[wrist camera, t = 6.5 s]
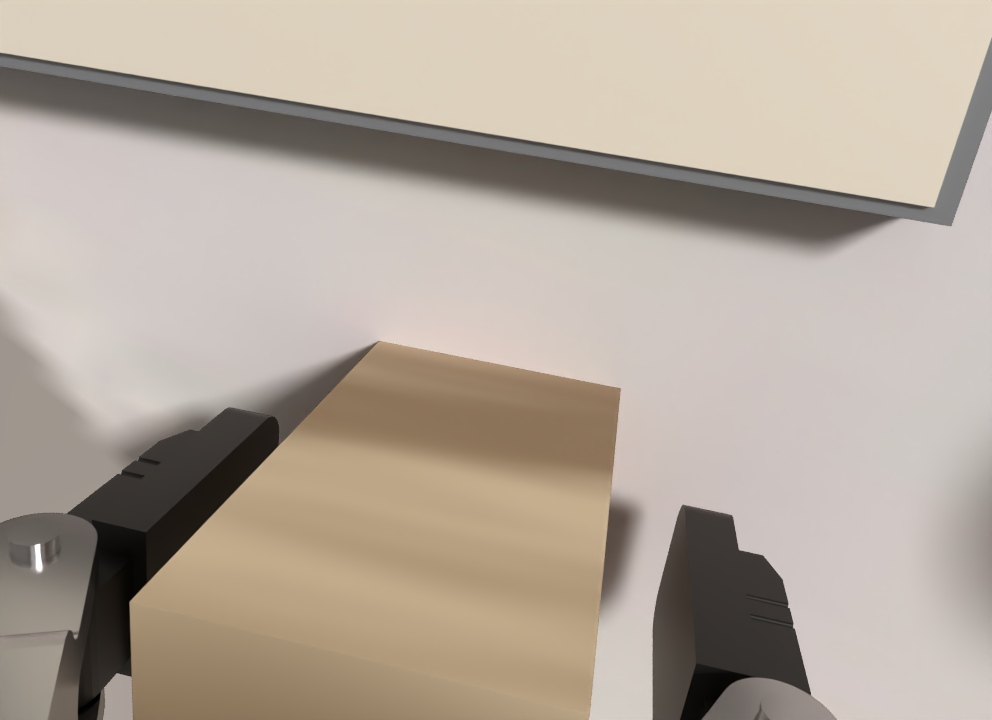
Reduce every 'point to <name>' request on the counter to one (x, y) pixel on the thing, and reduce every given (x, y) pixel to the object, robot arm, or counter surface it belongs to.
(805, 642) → the counter surface
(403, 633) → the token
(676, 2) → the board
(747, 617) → the robot arm
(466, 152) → the counter surface
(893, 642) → the counter surface
